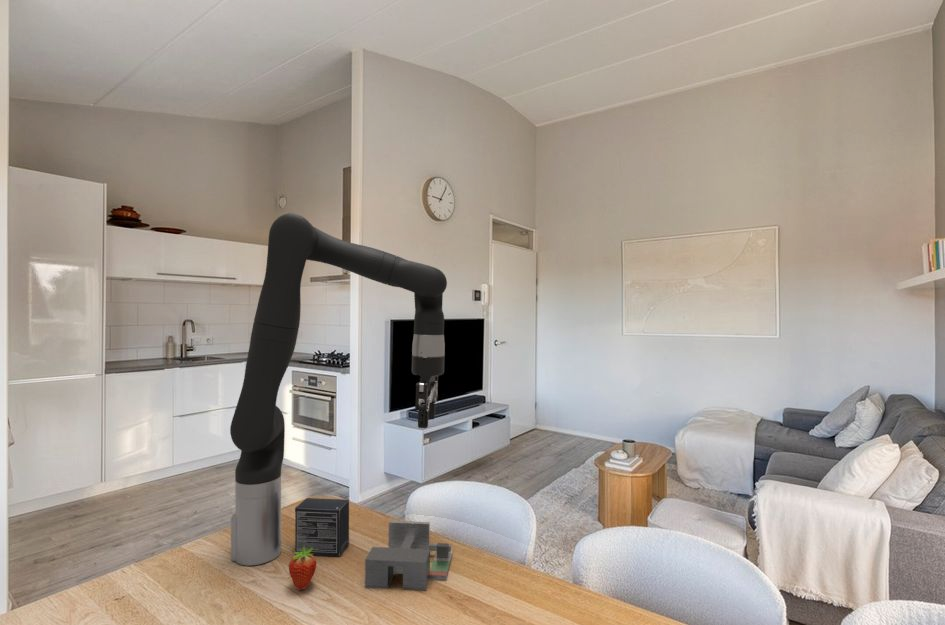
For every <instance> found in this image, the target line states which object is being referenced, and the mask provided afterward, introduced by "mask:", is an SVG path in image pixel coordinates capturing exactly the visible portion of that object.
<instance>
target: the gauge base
mask: <svg viewBox="0 0 945 625" xmlns="http://www.w3.org/2000/svg"><path fill="white" fill-rule="evenodd" d="M369 550H370V551H369V552H368V554H367V555H366V557H365V560H364V588H367V589H368V588H369V589H382V590H383V589H387V590H388V589H389V587H390V585H391V582H392V580H393V577H394V575H395V574H393V566H402V567H403V574H402V590H404V591H406V590H407V591H423V592H426V591H427V589H428V588H427V587H428V584H429V580H430V581H447V580H448V574H449V571H450V566H451V563H452V562H451V561H452V556H453V549H451V552H449V555H448V558H447V557H437V551H435V554H434V557H433V561H432V564H431V551H430V549H408V548H389V547H383V546H381V547H380V546H372V547H371V549H369Z"/></svg>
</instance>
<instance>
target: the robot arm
mask: <svg viewBox="0 0 945 625" xmlns="http://www.w3.org/2000/svg"><path fill="white" fill-rule="evenodd" d="M267 242H268V244H267V256H266V268H265V275H264V278H263V279H264V280H263V283H262V286H261V290H260V294H259V298H258V301H257V306H256V311H255V315H254V318H253V324H252V328H251V334H250V341H249V347H248V352H247V358H246V363H245V364H246V365H245V369H244V378H243V383H242V387H241V391H240V394H239V398H238V400H237V403H236V407H235V409H234V414H233V416H232V419H231V423H230V428H229V429H230V439H231V441H232V443H233V444H234V447H236V448H237V449H238V450H240V451H241V452H240V456H239V459H238V463H237V464H236V467H235V469H234V470H235V472H234V473H235V475H234V478H235V480H234V481H235V482H234V483H235V484H234V486H235V487H234V488H235V490H234V491H235V492H234V499H235V500H234V502H235V505H234V506H235V507H234V509H235V511H234V514H233V515H232V516H231V518H230V561H231V562H236V563H237V564H239V565H242V566H257V565H258V566H259V565H262V564H265V563H268V562H271V561H273V560H275V559H276V558H278V557H279V556H280V555H281V551H282V466H283V462H284V455H285V428H286V427H285V418H284V414H283V412H282V410H281V409H280V408H279V407H278V406H277V398H278V393H279V390H280V386H281V383H282V380H283V378H284V376H285V374H286V372H287V369H288V367H289V365H290V362H291V360H292V357H293V354H294V352H295V348H296V345H297V340H298V339H297V338H298V335H299V330H300V323H301V322H300V321H301V305H302V304H301V300H302V299H301V285H302V284H301V283H302V277H303V273H304V269H305V267H306V262H307V261H312V262H317V263H322V264H327V265H331V266H334V267H337V268H339V269H343V270H345V271H347V272H351V273H353V274H356V275H358V276H361V277H364V278H366V279H369V280H371V281H374V282H378V283H380V284H383V285H387V286H390V287H393V288H401V289H403V290H406V291H409V292H412V293H414V310H415V311H414V319H413V320H414V322H413V339H412V348H411V352H412V354H411V373H412V375H414V376H419V377H420V378H419V382H416V384H415V406H414V408H415V411H417V412H418V413H417V427H418V428H419V429H427V428H428V427H429V420H435V417H436V403H437V400H438V398H439V395H438V394H439V392H438V390H439V376H442V375H444V373H445V356H446V355H445V354H446V352H445V349H446V347H445V346H446V343H445V315H444V311H443V297H444V296H443V294H444V292H445V291H446V289H447V286H448V282H447V277H446V275H445V273H444V272H443V271H442V270H440V269H439V268H437V267H434V266H431V265H427V264H425V263H421V262H417V261H416V262H415V261H412V260H407V258H406V259H405V258H403V257H401V256H399V255H395V254H392V253H390V252H387V251H384V250H381V249H377V248H374V247H370V246H366V245H362V244H359V243H358V244H357V243H353V242H350V241H346V240H343V239H340V238H337V237H335V236H333V235H330V234H328V233H326V232H324V231H322V230H321V229H318V228H317V227H314V226H313V224H312V223H310V221H309V220H307V218H305V217H304V216H302V215H300V214H297V213H289V212H288V213H284V214H281V215H280V216H278V217H277V218H276V219H275V220H274V221H273V223H272V224H271V226H270V228H269V230H268V240H267ZM422 403H424V404H422Z"/></svg>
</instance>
